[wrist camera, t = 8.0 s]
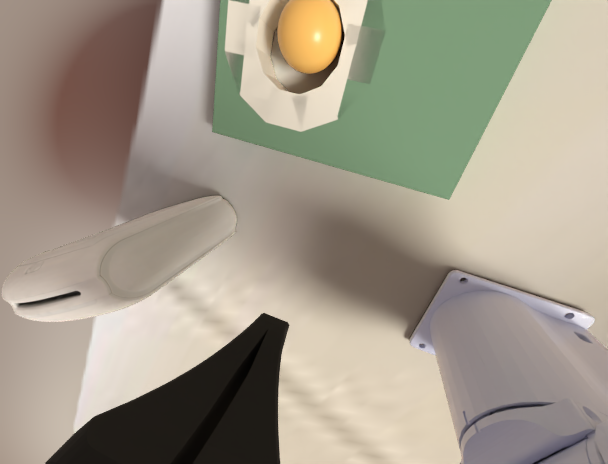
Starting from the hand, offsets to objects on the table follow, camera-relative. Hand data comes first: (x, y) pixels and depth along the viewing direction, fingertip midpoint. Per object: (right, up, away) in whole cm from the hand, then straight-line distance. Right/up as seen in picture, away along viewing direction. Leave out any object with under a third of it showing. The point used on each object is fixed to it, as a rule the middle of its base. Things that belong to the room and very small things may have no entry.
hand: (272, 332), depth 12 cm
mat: (+5, +15, +3) cm, 16 cm away
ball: (+2, +16, +2) cm, 16 cm away
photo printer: (-9, +6, +12) cm, 16 cm away
